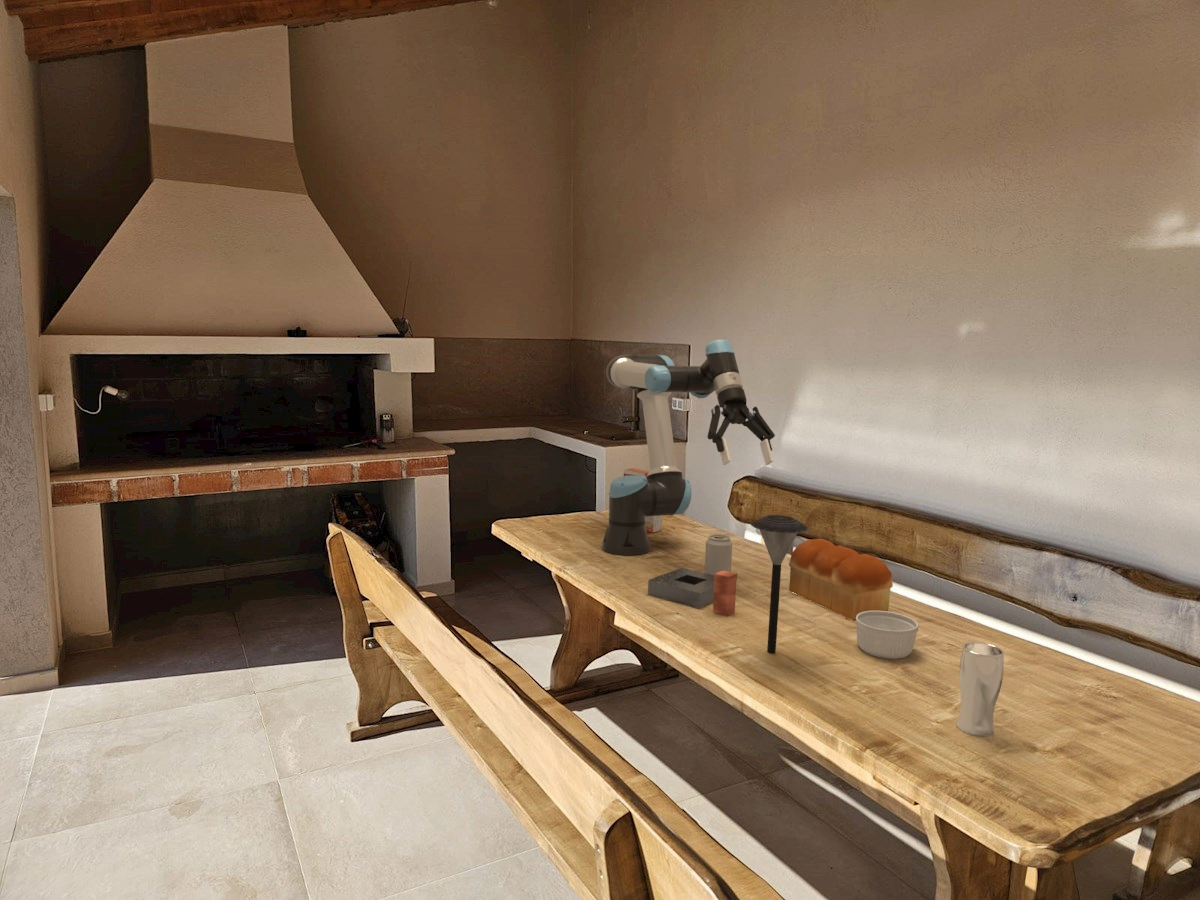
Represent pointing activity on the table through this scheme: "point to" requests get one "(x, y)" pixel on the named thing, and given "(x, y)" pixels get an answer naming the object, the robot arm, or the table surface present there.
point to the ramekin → (886, 634)
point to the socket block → (684, 587)
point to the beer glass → (979, 687)
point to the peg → (724, 593)
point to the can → (718, 554)
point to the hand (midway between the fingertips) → (748, 463)
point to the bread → (839, 578)
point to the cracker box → (651, 522)
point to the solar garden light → (777, 559)
